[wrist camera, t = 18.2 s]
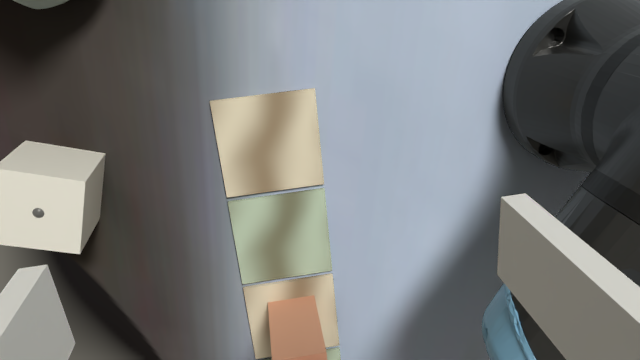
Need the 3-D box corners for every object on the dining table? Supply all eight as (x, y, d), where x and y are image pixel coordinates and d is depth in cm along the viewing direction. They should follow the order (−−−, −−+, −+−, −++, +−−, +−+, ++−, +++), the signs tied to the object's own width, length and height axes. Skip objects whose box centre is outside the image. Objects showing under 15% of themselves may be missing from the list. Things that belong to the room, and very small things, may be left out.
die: (105, 153, 42) (84, 182, 37) (100, 218, 44) (79, 255, 39) (23, 139, 41) (-12, 168, 35) (21, 207, 43) (-13, 244, 37)
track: (314, 88, 42) (314, 88, 42) (344, 408, 57) (345, 410, 56) (209, 100, 42) (209, 101, 41) (267, 422, 56) (267, 424, 56)
